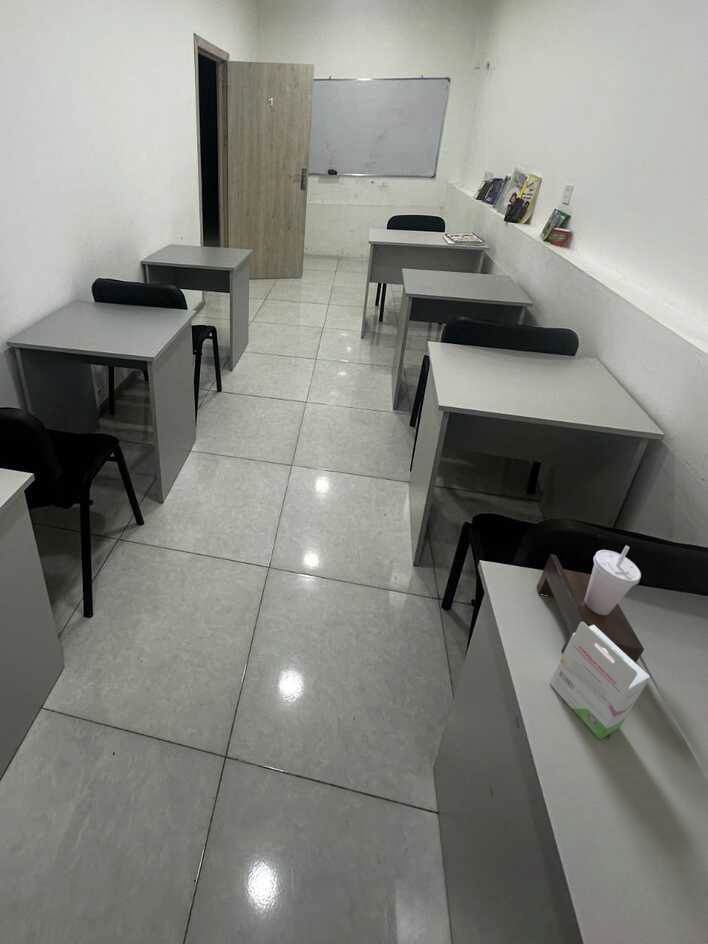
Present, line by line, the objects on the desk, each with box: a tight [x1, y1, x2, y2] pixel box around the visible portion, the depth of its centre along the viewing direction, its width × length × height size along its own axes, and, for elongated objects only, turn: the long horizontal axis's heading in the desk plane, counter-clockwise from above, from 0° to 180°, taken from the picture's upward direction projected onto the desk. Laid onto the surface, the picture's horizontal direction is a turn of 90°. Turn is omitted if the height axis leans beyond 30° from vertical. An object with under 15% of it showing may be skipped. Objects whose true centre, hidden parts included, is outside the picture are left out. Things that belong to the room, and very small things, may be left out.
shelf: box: [535, 553, 645, 664], centre depth 83 cm, size 10×14×9 cm
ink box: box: [549, 622, 651, 741], centre depth 70 cm, size 9×5×15 cm, turn 22°
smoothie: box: [585, 545, 642, 615], centre depth 80 cm, size 6×6×14 cm
